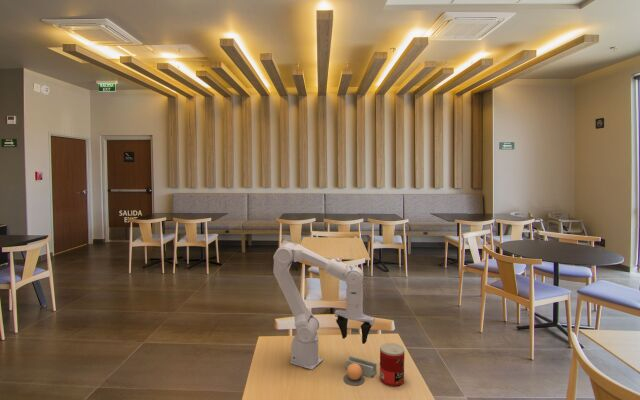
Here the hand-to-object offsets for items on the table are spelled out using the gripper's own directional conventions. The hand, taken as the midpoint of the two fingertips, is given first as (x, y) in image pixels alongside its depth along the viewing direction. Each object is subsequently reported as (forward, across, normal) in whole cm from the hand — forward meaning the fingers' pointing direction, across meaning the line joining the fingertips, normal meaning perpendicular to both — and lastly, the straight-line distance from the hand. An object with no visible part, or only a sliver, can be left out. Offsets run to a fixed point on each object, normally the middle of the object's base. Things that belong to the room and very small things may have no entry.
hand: (354, 340), depth 132 cm
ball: (+10, -3, +7) cm, 12 cm away
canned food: (+10, -14, +1) cm, 18 cm away
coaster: (+10, -3, +7) cm, 13 cm away
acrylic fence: (+10, -3, +2) cm, 11 cm away
